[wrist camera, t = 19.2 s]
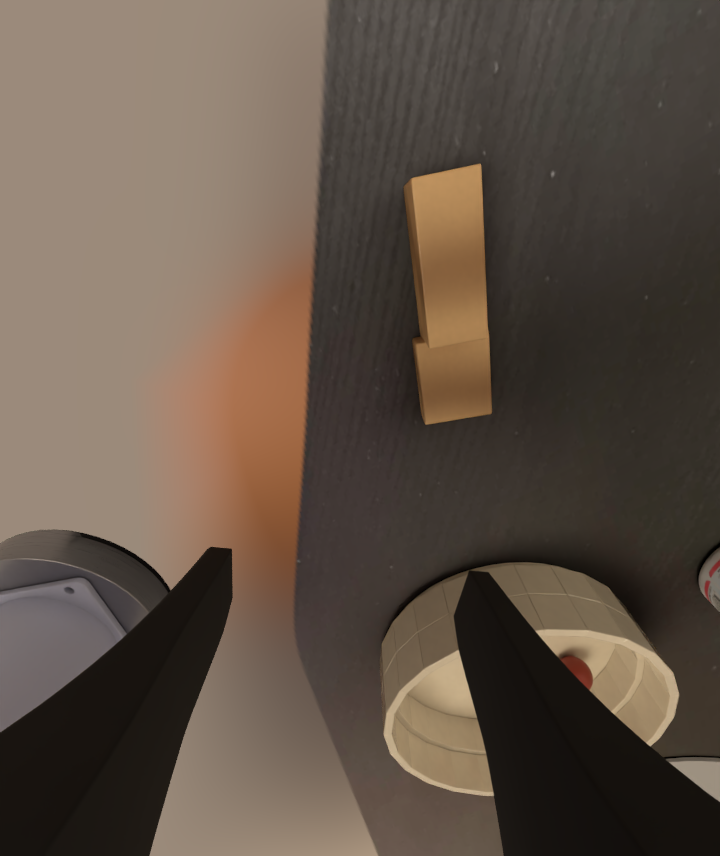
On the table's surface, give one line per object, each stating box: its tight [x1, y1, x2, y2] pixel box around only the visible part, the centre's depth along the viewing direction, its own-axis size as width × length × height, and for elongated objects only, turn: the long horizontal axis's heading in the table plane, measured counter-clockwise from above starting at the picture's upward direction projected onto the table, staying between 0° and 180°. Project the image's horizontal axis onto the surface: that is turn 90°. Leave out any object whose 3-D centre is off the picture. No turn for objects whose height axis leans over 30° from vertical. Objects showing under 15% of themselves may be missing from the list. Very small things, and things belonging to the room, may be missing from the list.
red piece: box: [560, 656, 593, 690], centre depth 27 cm, size 2×2×2 cm
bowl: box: [380, 562, 679, 796], centre depth 26 cm, size 17×17×5 cm
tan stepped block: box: [403, 164, 492, 425], centre depth 16 cm, size 10×3×2 cm, turn 10°
